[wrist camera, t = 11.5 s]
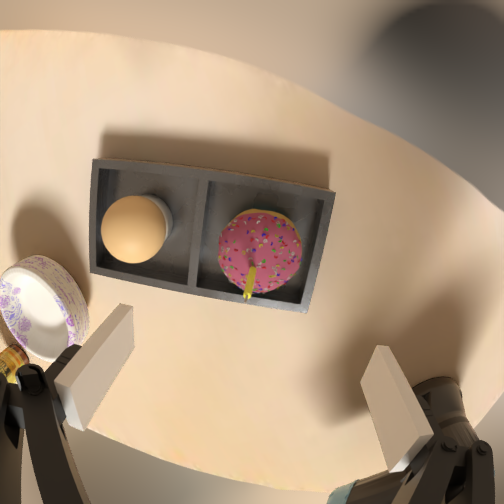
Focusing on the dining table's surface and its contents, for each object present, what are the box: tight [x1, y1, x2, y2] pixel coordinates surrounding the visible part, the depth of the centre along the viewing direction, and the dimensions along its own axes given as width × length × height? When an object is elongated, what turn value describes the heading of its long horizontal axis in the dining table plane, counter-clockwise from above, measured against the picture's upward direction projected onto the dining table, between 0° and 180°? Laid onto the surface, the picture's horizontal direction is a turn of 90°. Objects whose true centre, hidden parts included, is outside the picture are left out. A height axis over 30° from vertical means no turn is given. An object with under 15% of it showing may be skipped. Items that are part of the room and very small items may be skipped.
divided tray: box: [89, 158, 336, 313], centre depth 34 cm, size 27×14×4 cm, turn 81°
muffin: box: [101, 194, 173, 263], centre depth 31 cm, size 7×7×8 cm
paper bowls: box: [0, 255, 89, 362], centre depth 36 cm, size 15×15×8 cm
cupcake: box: [218, 209, 302, 304], centre depth 29 cm, size 9×8×12 cm
